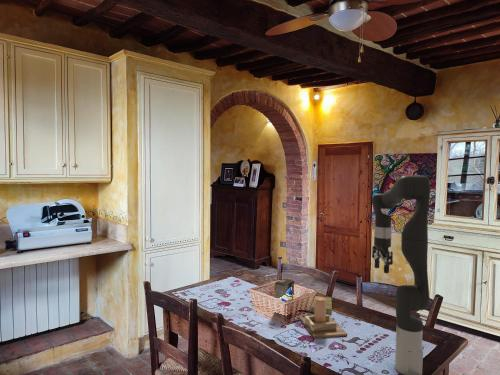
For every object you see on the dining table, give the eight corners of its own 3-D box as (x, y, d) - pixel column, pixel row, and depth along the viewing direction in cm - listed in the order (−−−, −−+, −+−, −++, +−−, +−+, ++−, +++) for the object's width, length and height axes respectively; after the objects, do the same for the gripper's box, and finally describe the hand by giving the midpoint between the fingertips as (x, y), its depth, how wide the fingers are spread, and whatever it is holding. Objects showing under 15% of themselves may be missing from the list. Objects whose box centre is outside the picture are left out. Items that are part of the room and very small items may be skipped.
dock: (347, 335, 170) (347, 327, 170) (313, 338, 167) (314, 329, 167) (330, 317, 190) (330, 310, 189) (300, 319, 187) (300, 311, 187)
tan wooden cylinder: (327, 327, 176) (327, 300, 175) (316, 328, 175) (317, 301, 174) (322, 322, 181) (323, 296, 180) (312, 323, 180) (313, 297, 179)
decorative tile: (296, 299, 216) (296, 293, 216) (331, 302, 212) (331, 296, 212) (293, 311, 198) (294, 305, 198) (332, 315, 194) (332, 308, 194)
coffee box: (284, 306, 203) (284, 278, 202) (293, 309, 199) (294, 280, 198) (274, 311, 196) (275, 282, 195) (284, 315, 192) (285, 284, 191)
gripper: (367, 233, 179) (366, 266, 179) (383, 239, 165) (382, 275, 165) (382, 233, 180) (380, 266, 181) (398, 239, 166) (397, 274, 167)
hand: (381, 270), depth 173 cm, fingers open, 8 cm apart
